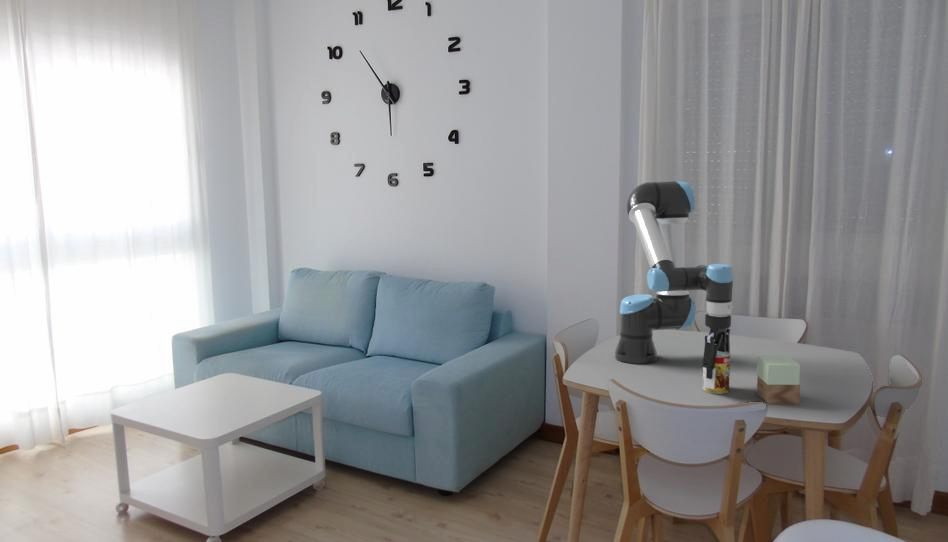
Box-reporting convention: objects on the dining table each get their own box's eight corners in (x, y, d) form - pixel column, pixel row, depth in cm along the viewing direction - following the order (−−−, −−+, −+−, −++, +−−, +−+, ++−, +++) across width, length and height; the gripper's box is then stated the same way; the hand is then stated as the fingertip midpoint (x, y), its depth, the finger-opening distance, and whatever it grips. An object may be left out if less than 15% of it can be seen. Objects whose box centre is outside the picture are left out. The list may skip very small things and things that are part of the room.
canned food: (731, 394, 199) (733, 357, 197) (705, 393, 200) (706, 356, 198) (725, 385, 207) (727, 349, 205) (700, 385, 208) (701, 349, 206)
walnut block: (767, 404, 191) (768, 384, 190) (756, 393, 199) (757, 375, 199) (799, 404, 190) (800, 384, 189) (786, 393, 199) (787, 375, 198)
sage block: (767, 384, 190) (768, 365, 189) (756, 374, 199) (757, 356, 198) (799, 384, 189) (800, 365, 188) (787, 375, 198) (788, 356, 197)
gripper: (716, 322, 189) (713, 395, 193) (743, 309, 204) (740, 378, 208) (692, 318, 195) (690, 390, 198) (719, 306, 209) (717, 374, 213)
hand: (715, 384), depth 203 cm, fingers closed on canned food, 8 cm apart
